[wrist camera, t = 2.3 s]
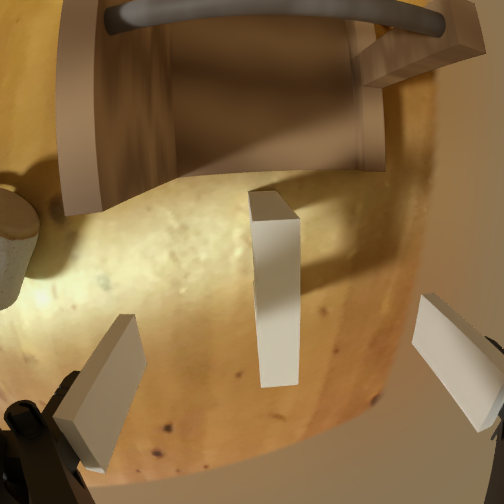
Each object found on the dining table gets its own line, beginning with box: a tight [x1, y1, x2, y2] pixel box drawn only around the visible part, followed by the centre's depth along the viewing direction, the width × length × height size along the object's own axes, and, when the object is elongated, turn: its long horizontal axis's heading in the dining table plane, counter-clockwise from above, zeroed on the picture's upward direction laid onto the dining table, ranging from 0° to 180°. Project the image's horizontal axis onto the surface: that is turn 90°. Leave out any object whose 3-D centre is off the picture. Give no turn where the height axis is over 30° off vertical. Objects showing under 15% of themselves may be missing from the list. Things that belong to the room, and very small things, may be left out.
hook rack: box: [56, 0, 486, 216], centre depth 14 cm, size 14×16×14 cm
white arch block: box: [248, 190, 300, 388], centre depth 19 cm, size 9×2×10 cm, turn 3°
